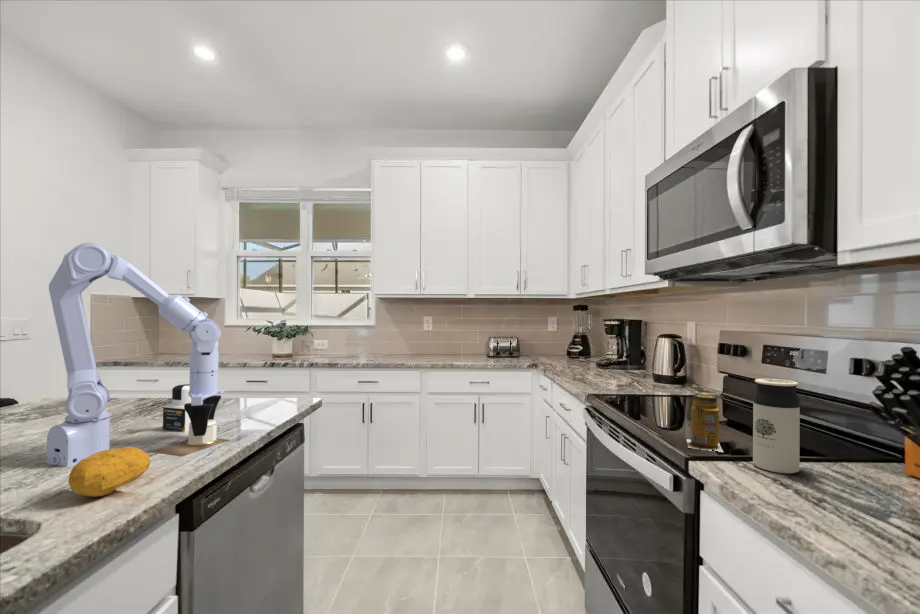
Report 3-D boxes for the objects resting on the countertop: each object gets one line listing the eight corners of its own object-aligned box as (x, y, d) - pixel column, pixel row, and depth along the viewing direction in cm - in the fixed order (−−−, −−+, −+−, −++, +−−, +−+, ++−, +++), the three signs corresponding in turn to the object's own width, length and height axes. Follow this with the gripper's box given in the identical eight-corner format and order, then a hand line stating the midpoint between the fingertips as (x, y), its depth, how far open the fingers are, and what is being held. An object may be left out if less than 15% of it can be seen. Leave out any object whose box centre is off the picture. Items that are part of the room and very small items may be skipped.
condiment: (719, 443, 115) (719, 394, 115) (723, 453, 107) (723, 400, 107) (686, 440, 118) (686, 392, 118) (688, 448, 110) (688, 397, 110)
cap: (185, 440, 106) (185, 422, 106) (210, 435, 110) (211, 418, 110) (194, 445, 102) (194, 426, 102) (219, 440, 106) (220, 422, 106)
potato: (50, 505, 74) (51, 462, 74) (124, 475, 88) (125, 439, 88) (94, 508, 73) (95, 465, 73) (161, 478, 87) (162, 441, 87)
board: (181, 462, 96) (182, 456, 96) (148, 457, 98) (148, 451, 98) (230, 445, 108) (230, 439, 108) (199, 441, 111) (200, 436, 111)
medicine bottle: (161, 434, 117) (162, 386, 117) (186, 427, 123) (187, 382, 124) (184, 436, 115) (185, 388, 115) (207, 430, 121) (208, 383, 122)
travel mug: (776, 461, 101) (777, 378, 101) (809, 473, 93) (810, 383, 94) (743, 462, 100) (744, 378, 100) (774, 475, 92) (774, 384, 92)
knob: (202, 447, 102) (202, 432, 102) (179, 444, 104) (179, 430, 104) (225, 439, 108) (225, 425, 108) (203, 437, 110) (203, 423, 110)
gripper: (217, 375, 101) (216, 438, 100) (228, 367, 114) (227, 423, 114) (180, 376, 98) (179, 440, 98) (196, 368, 112) (195, 424, 112)
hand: (203, 431), depth 106 cm, fingers open, 6 cm apart
